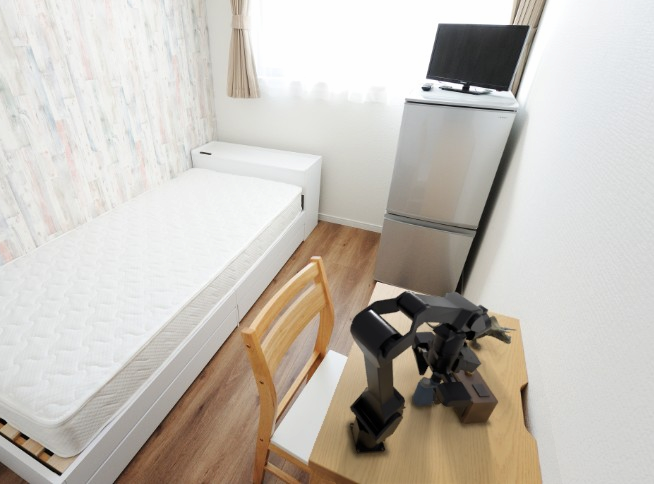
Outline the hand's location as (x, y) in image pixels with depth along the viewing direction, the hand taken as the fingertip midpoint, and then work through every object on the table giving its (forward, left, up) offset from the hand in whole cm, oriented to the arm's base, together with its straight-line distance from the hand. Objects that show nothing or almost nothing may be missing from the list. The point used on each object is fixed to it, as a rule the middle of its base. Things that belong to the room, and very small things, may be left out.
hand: (428, 388), depth 84 cm
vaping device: (0, 0, -5) cm, 5 cm away
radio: (+10, -1, -5) cm, 11 cm away
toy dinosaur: (+21, +20, -5) cm, 29 cm away
